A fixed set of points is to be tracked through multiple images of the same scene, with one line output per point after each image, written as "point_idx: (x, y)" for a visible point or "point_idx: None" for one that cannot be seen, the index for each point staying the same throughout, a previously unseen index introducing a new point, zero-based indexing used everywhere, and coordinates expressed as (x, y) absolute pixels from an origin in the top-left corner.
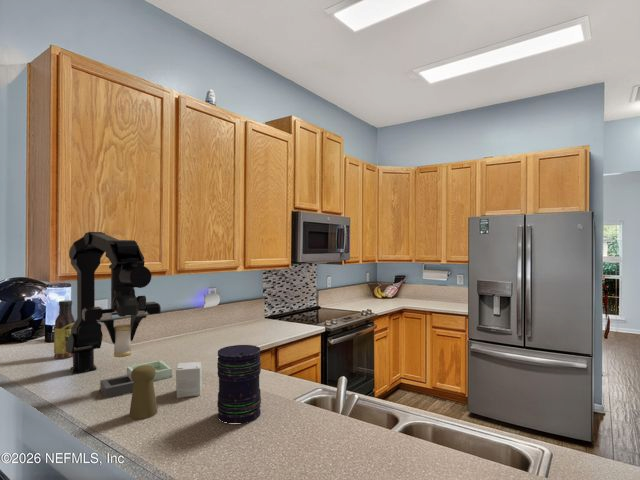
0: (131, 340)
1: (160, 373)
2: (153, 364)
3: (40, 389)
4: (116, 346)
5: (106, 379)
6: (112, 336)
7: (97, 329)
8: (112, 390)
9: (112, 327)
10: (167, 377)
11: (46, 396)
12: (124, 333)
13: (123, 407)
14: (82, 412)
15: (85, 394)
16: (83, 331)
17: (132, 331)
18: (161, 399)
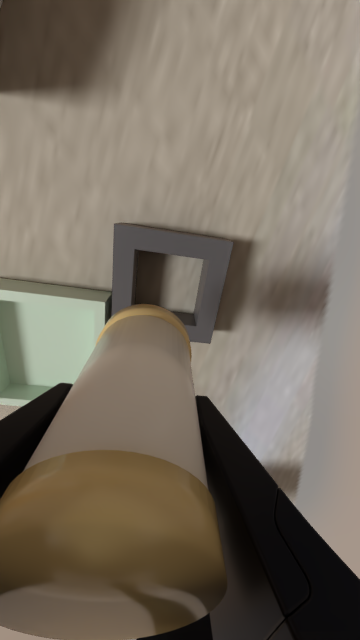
0: (67, 384)
1: (16, 287)
2: (21, 393)
3: (295, 424)
4: (189, 366)
5: (193, 337)
6: (233, 442)
7: (152, 636)
8: (210, 237)
9: (290, 576)
10: (2, 279)
11: (310, 374)
12: (121, 420)
13: (222, 81)
14: (325, 165)
15: (248, 320)
16: (208, 633)
17: (6, 447)
18: (77, 27)
